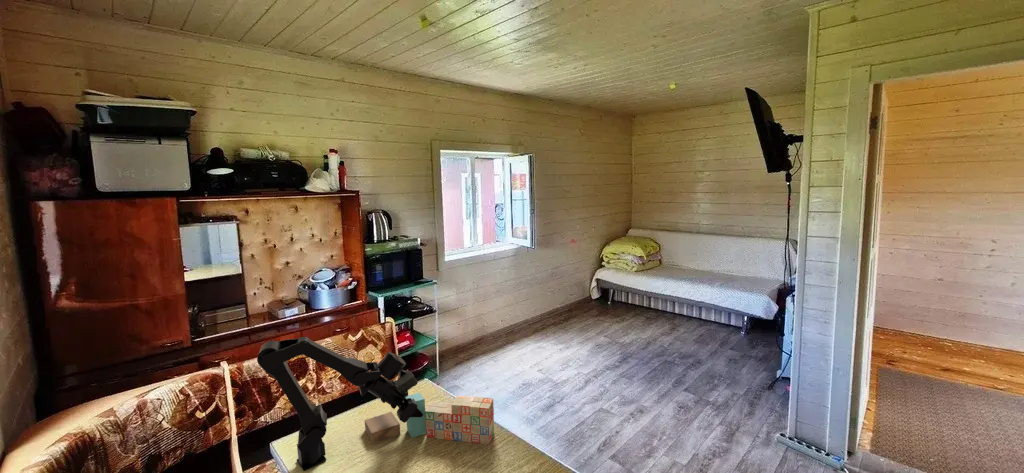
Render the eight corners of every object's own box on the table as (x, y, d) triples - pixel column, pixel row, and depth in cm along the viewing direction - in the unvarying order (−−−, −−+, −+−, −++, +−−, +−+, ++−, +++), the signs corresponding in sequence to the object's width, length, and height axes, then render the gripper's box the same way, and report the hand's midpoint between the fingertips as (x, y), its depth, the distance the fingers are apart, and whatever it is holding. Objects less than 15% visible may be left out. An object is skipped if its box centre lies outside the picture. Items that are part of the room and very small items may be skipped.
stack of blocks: (425, 437, 138) (423, 402, 136) (433, 426, 144) (431, 392, 142) (489, 444, 134) (488, 408, 132) (494, 433, 140) (493, 397, 138)
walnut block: (372, 444, 135) (371, 433, 135) (365, 431, 143) (364, 420, 142) (400, 435, 140) (399, 423, 139) (392, 422, 148) (391, 411, 147)
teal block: (411, 437, 138) (409, 403, 136) (407, 430, 142) (405, 396, 140) (426, 433, 140) (424, 398, 139) (421, 425, 145) (419, 392, 143)
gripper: (409, 379, 128) (445, 403, 135) (393, 357, 144) (426, 380, 151) (384, 411, 125) (422, 434, 132) (370, 385, 141) (405, 407, 148)
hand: (419, 411), depth 141 cm, fingers closed on teal block, 5 cm apart
